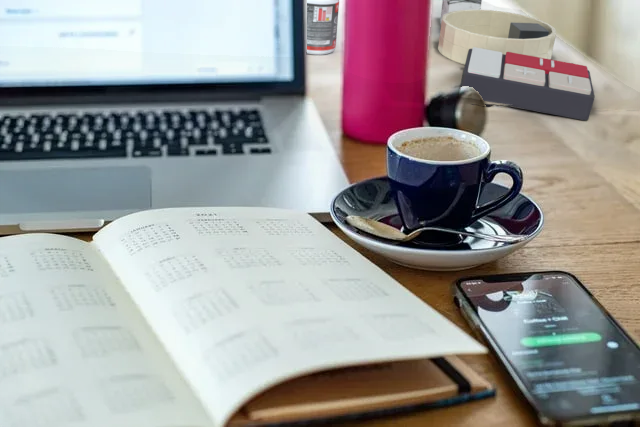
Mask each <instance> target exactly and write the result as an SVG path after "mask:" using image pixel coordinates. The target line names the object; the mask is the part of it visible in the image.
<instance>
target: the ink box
mask: <svg viewBox="0 0 640 427" xmlns="http://www.w3.org/2000/svg"><path fill="white" fill-rule="evenodd" d="M482 1H483V0H442V1H441V11H440V20H439V22H440V24H441V23H442V18H443V15H445V14H447V13H449V12H452V11H458V10H472V9H478V10H482V9H481V8H482Z"/></svg>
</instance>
